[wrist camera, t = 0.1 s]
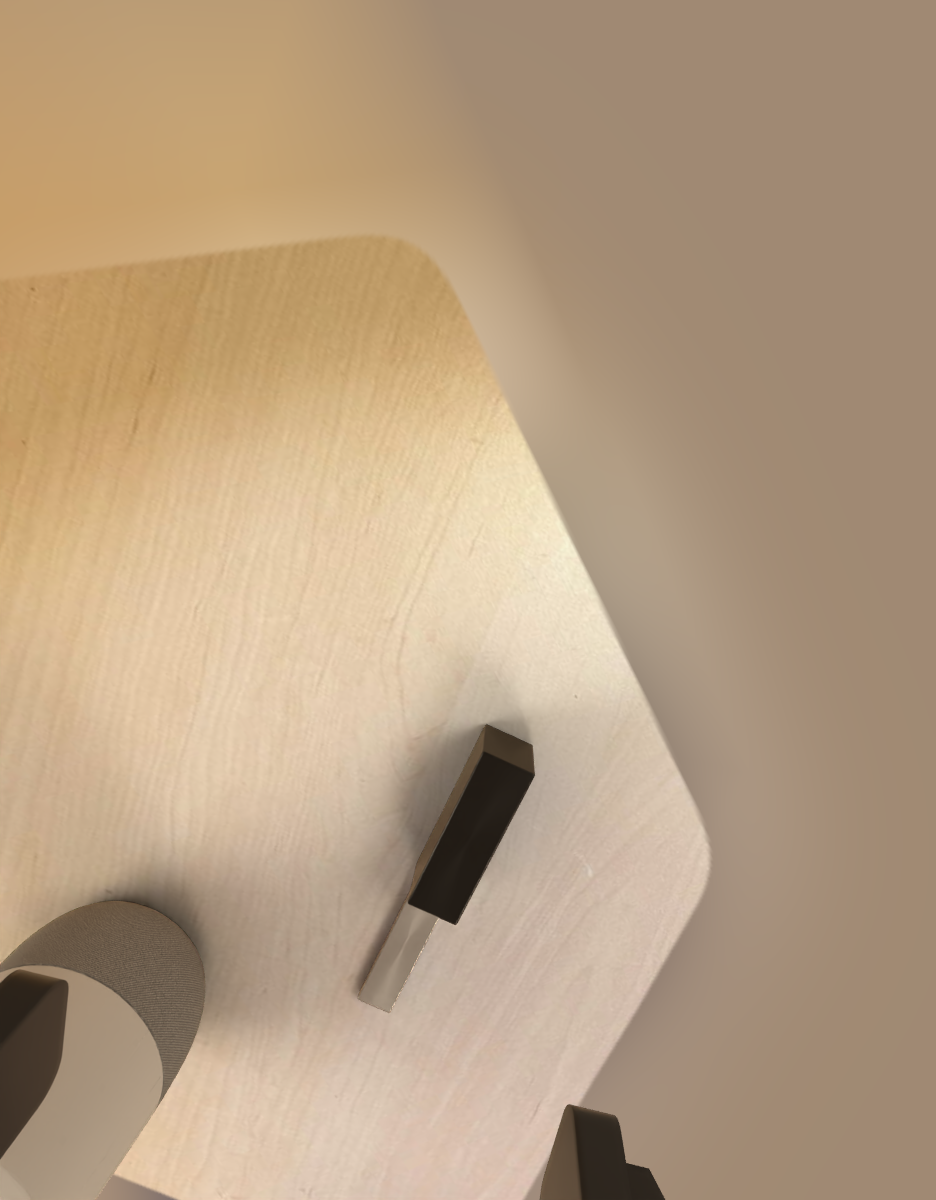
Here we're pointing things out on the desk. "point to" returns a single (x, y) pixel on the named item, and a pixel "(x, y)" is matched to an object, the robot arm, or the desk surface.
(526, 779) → the knife
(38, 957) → the smart speaker
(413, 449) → the desk surface
